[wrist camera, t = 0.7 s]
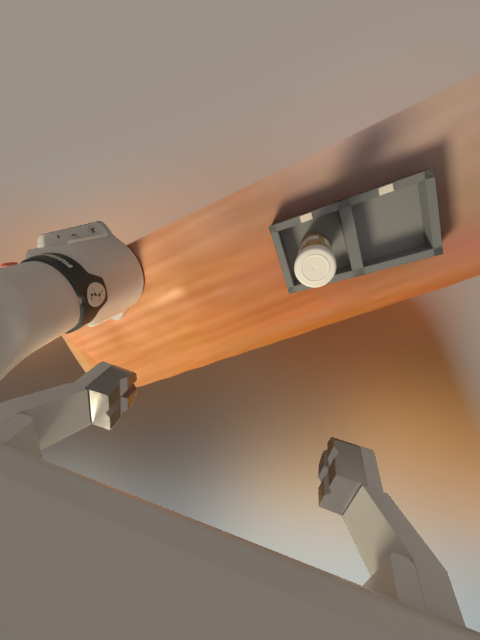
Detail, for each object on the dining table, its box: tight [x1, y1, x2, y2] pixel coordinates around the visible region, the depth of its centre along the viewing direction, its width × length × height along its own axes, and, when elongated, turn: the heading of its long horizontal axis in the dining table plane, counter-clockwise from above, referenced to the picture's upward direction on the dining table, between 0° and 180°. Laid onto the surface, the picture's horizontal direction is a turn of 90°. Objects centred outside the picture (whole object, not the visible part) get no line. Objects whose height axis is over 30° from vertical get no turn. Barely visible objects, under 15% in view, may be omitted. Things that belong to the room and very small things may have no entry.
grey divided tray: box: [269, 168, 443, 294], centre depth 39 cm, size 20×10×4 cm, turn 111°
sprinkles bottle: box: [294, 232, 336, 287], centre depth 36 cm, size 5×5×14 cm
